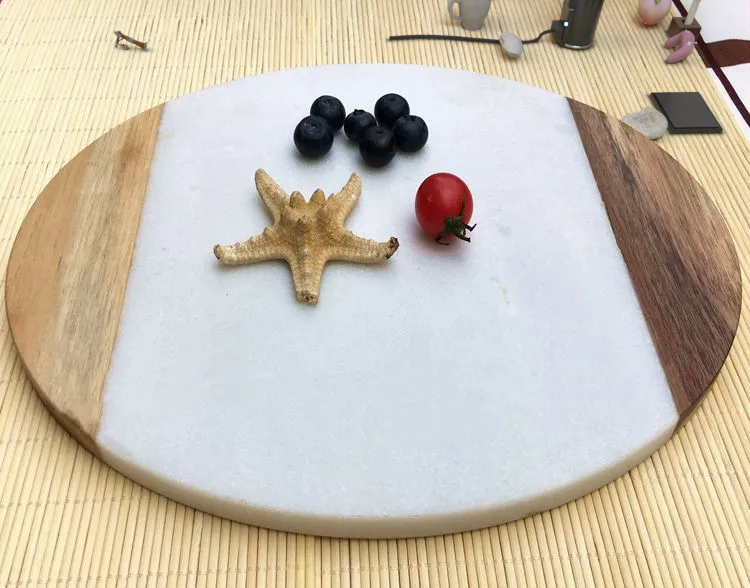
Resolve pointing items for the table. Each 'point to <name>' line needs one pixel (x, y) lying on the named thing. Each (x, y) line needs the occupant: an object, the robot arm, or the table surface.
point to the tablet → (686, 112)
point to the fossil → (647, 122)
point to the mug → (470, 12)
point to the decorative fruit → (653, 10)
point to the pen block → (683, 27)
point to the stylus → (692, 12)
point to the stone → (511, 44)
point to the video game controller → (680, 46)
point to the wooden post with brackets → (129, 39)
